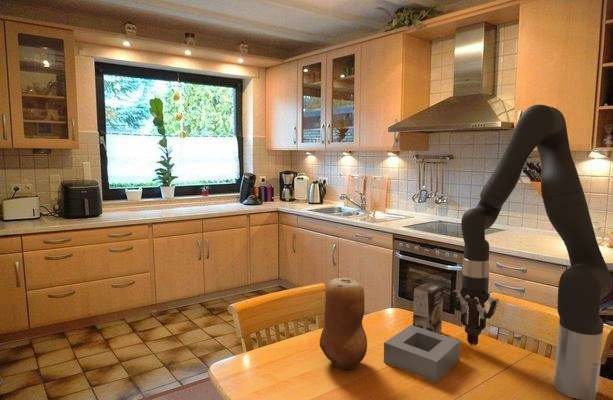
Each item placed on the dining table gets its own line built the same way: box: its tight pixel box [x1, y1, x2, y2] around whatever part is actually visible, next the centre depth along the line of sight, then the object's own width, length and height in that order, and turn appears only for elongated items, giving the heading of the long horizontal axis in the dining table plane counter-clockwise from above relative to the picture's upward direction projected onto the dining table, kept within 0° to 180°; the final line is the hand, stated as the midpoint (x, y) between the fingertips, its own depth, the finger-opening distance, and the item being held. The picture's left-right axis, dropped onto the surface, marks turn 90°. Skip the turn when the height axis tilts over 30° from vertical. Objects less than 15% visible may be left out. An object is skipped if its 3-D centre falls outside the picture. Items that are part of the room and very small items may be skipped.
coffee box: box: [412, 282, 444, 334], centre depth 138 cm, size 9×6×16 cm
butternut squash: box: [319, 277, 368, 370], centre depth 117 cm, size 14×13×25 cm
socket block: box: [383, 324, 461, 384], centre depth 120 cm, size 16×16×6 cm
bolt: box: [464, 296, 482, 346], centre depth 126 cm, size 6×5×15 cm
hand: (473, 326), depth 127 cm, fingers closed on bolt, 4 cm apart
